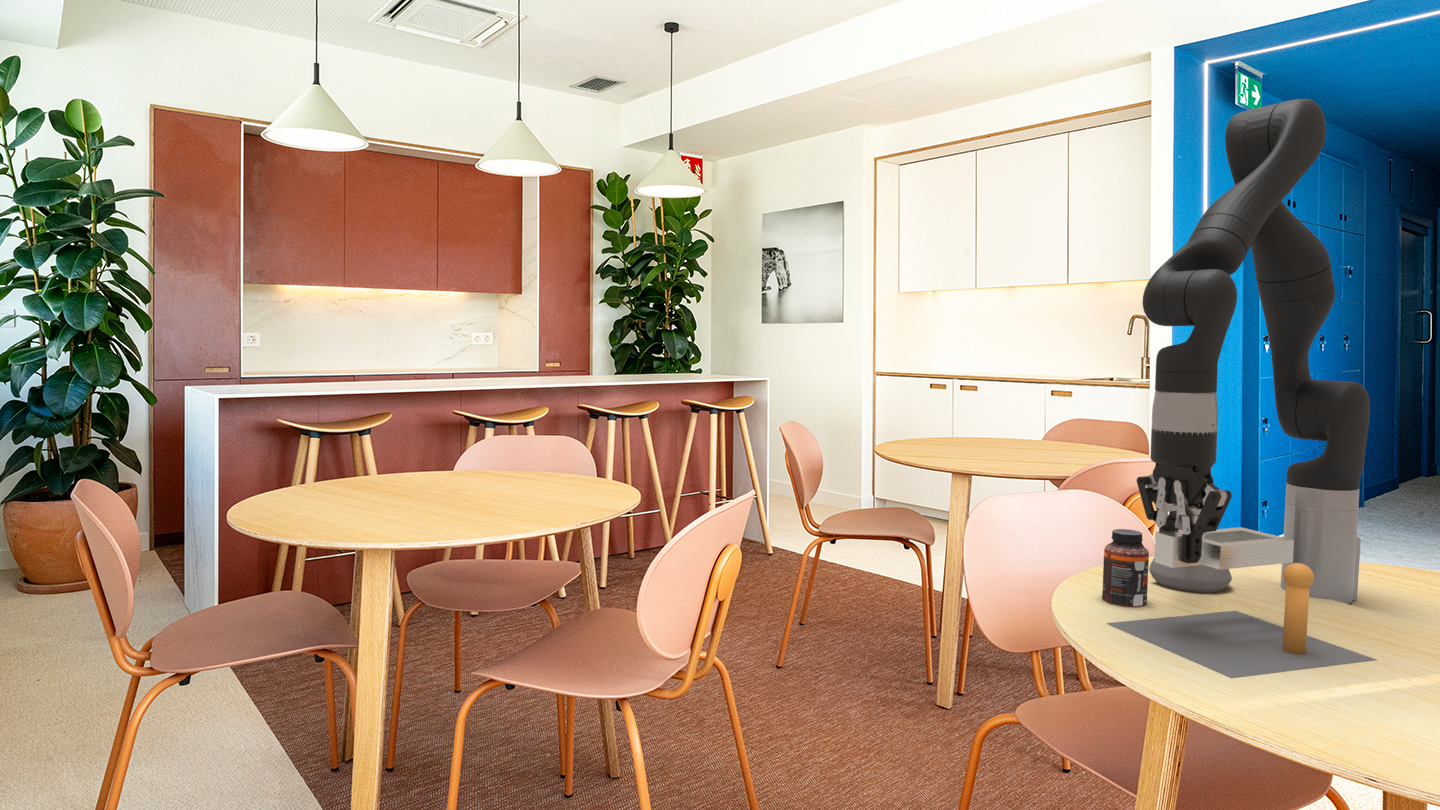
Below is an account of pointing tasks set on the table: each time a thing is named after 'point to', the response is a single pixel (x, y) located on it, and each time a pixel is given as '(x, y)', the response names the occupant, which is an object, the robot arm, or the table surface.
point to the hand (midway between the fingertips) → (1179, 558)
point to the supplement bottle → (1125, 570)
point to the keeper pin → (1296, 607)
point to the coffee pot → (1190, 574)
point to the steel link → (1226, 549)
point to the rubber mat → (1235, 644)
